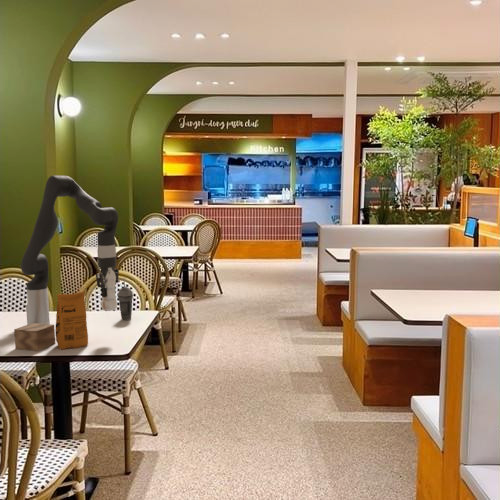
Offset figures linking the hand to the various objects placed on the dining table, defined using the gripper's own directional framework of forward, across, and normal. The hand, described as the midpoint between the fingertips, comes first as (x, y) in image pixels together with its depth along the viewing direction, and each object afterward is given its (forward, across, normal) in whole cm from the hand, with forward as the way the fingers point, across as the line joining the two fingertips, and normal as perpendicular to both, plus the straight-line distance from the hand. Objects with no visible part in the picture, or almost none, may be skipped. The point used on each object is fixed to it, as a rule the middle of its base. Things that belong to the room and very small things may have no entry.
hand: (108, 295), depth 252 cm
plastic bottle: (+7, 0, 0) cm, 7 cm away
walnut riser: (+19, +17, -25) cm, 36 cm away
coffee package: (+19, +12, -10) cm, 25 cm away
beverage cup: (+20, -34, -13) cm, 41 cm away
